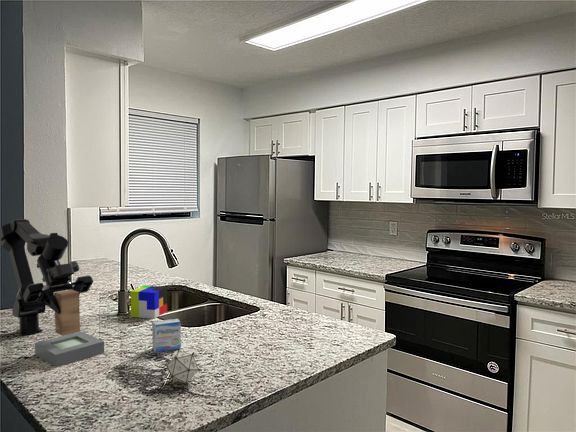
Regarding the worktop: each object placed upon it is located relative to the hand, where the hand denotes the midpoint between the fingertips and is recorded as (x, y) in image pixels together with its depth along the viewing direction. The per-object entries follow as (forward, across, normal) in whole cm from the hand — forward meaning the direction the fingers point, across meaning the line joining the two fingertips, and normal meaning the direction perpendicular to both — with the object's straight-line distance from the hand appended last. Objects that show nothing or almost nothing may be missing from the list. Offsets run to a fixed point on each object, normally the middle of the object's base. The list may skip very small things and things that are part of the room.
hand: (69, 311), depth 131 cm
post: (+4, 0, +6) cm, 7 cm away
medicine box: (+22, +21, -3) cm, 31 cm away
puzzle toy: (-4, +39, +22) cm, 45 cm away
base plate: (+9, 0, +9) cm, 13 cm away
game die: (+38, +10, -19) cm, 44 cm away
